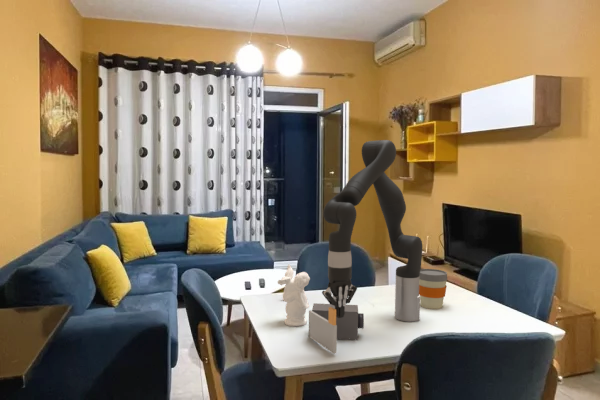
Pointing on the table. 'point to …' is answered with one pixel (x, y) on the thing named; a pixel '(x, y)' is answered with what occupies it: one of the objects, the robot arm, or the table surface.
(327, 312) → the camera housing
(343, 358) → the table surface
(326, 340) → the door
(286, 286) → the cherub figurine
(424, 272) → the reusable coffee cup
